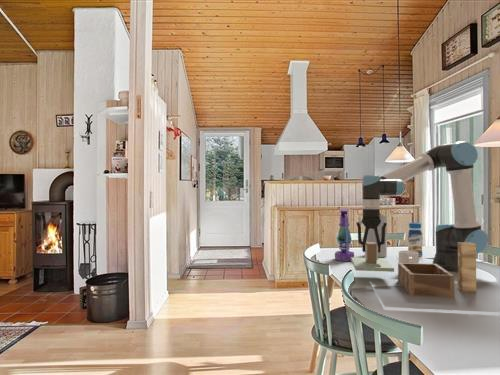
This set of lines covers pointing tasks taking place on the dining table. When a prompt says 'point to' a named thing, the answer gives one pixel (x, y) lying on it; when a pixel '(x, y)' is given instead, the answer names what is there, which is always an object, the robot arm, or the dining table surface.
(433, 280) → the open wooden box
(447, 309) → the dining table surface
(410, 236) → the beverage bottle
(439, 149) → the robot arm
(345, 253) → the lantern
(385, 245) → the cylinder vase
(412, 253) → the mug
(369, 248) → the lid
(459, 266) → the tall wooden block
